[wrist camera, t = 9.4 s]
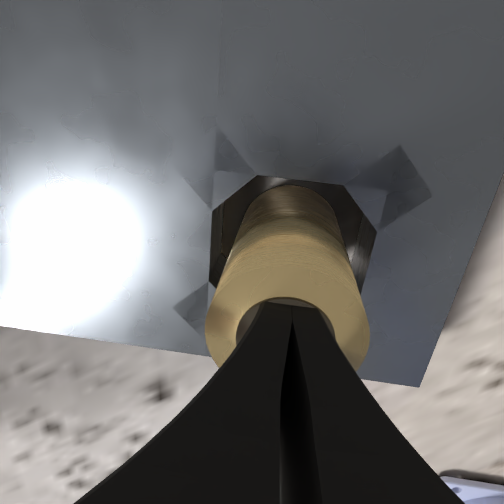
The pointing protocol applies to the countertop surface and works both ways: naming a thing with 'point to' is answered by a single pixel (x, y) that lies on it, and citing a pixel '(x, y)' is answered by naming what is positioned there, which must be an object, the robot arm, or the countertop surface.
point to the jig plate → (241, 155)
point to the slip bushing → (288, 272)
